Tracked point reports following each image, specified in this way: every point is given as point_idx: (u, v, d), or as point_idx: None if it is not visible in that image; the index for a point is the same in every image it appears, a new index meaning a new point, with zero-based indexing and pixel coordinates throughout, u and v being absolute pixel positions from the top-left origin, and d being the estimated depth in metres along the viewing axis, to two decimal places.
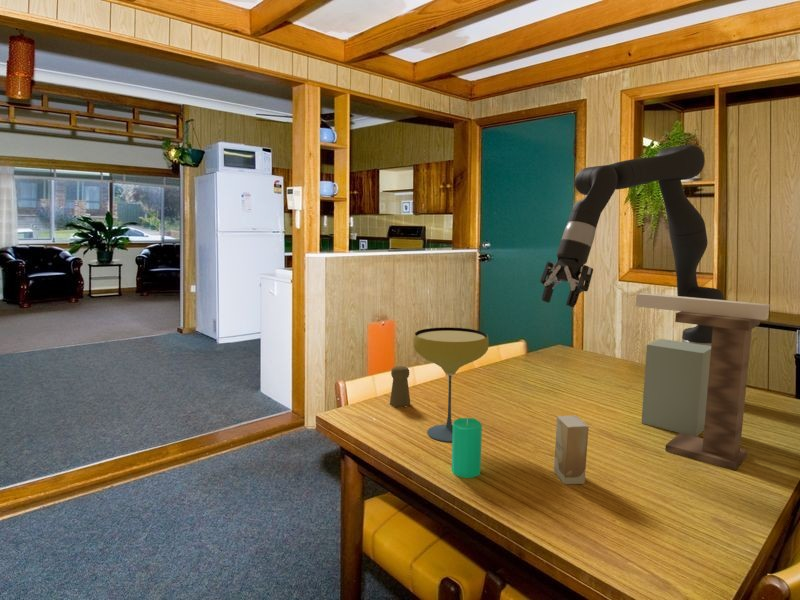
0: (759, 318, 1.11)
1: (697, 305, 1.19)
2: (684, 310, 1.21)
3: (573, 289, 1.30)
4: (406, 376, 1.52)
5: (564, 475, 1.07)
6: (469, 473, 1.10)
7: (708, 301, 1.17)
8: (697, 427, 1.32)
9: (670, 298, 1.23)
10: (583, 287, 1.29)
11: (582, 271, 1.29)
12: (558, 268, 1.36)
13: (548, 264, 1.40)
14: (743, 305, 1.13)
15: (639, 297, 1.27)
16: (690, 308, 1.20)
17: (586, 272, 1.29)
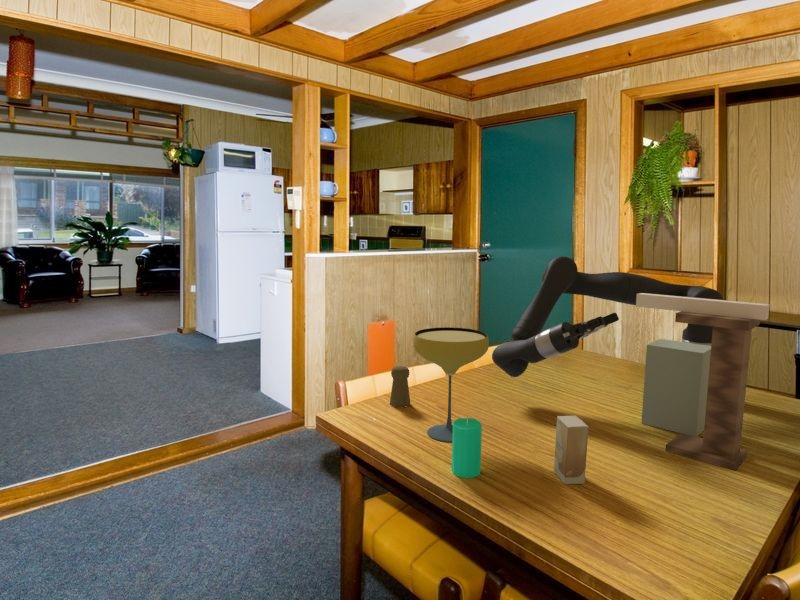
0: (759, 318, 1.11)
1: (697, 305, 1.19)
2: (684, 310, 1.21)
3: (589, 330, 1.33)
4: (406, 376, 1.52)
5: (564, 475, 1.07)
6: (469, 473, 1.10)
7: (708, 301, 1.17)
8: (697, 427, 1.32)
9: (670, 298, 1.23)
10: (580, 330, 1.32)
11: (571, 338, 1.36)
12: (586, 336, 1.40)
13: None
14: (743, 305, 1.13)
15: (639, 297, 1.27)
16: (690, 308, 1.20)
17: (569, 337, 1.35)
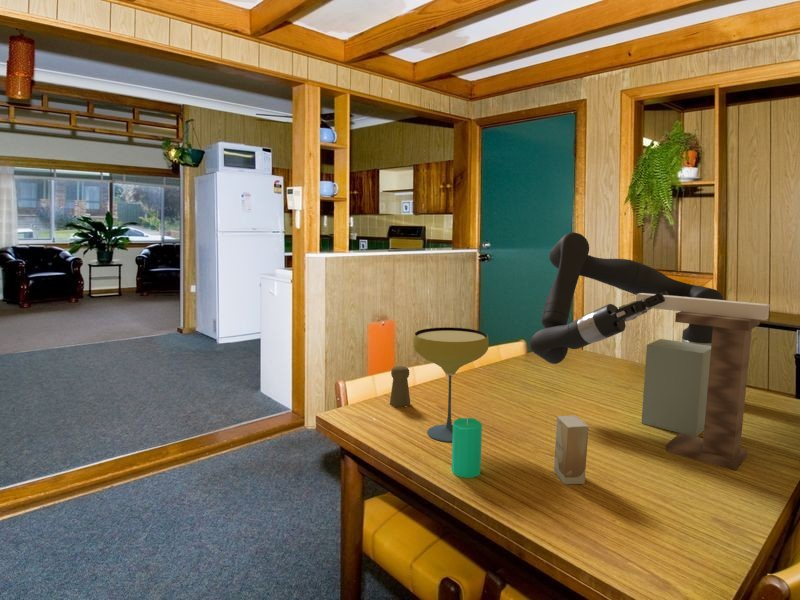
0: (759, 318, 1.11)
1: (697, 305, 1.19)
2: (684, 310, 1.21)
3: (648, 308, 1.25)
4: (406, 376, 1.52)
5: (564, 475, 1.07)
6: (469, 473, 1.10)
7: (708, 301, 1.17)
8: (697, 427, 1.32)
9: (670, 298, 1.23)
10: (639, 308, 1.25)
11: (625, 317, 1.26)
12: None
13: None
14: (743, 305, 1.13)
15: (639, 297, 1.27)
16: (690, 308, 1.20)
17: (625, 315, 1.26)
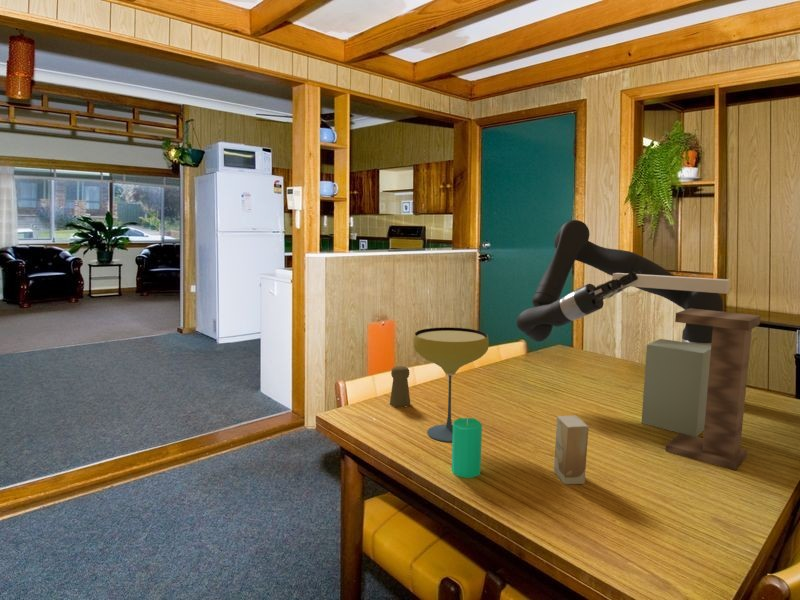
0: (720, 292, 1.23)
1: (666, 282, 1.31)
2: (655, 287, 1.33)
3: (623, 286, 1.37)
4: (406, 376, 1.52)
5: (564, 475, 1.07)
6: (469, 473, 1.10)
7: (676, 278, 1.29)
8: (697, 427, 1.32)
9: (642, 276, 1.35)
10: (614, 286, 1.37)
11: (602, 295, 1.38)
12: None
13: None
14: (706, 280, 1.25)
15: (615, 276, 1.39)
16: (660, 285, 1.32)
17: (602, 293, 1.38)
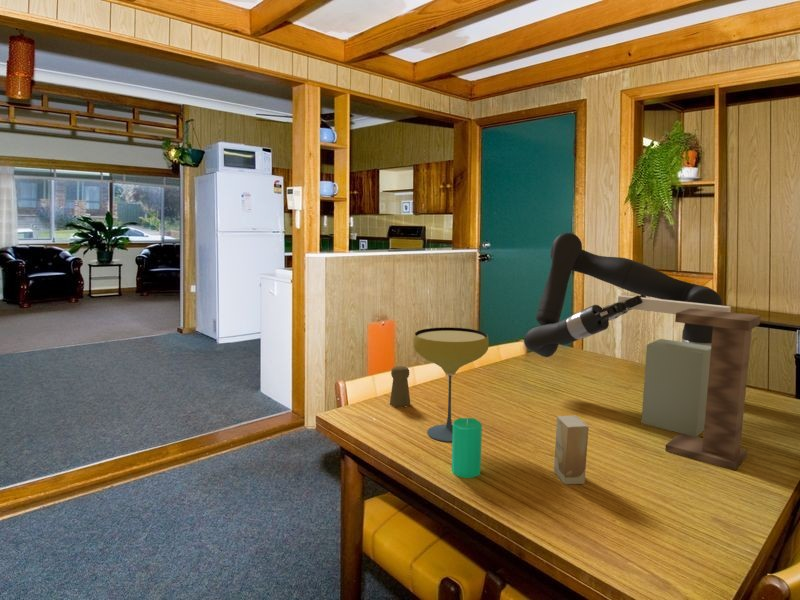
0: None
1: (670, 306, 1.36)
2: (658, 311, 1.38)
3: (628, 309, 1.43)
4: (406, 376, 1.52)
5: (564, 475, 1.07)
6: (469, 473, 1.10)
7: (679, 303, 1.34)
8: (697, 427, 1.32)
9: (647, 300, 1.40)
10: (619, 309, 1.42)
11: (608, 317, 1.44)
12: (615, 318, 1.49)
13: None
14: (708, 307, 1.30)
15: (620, 299, 1.45)
16: (664, 309, 1.37)
17: (607, 315, 1.43)
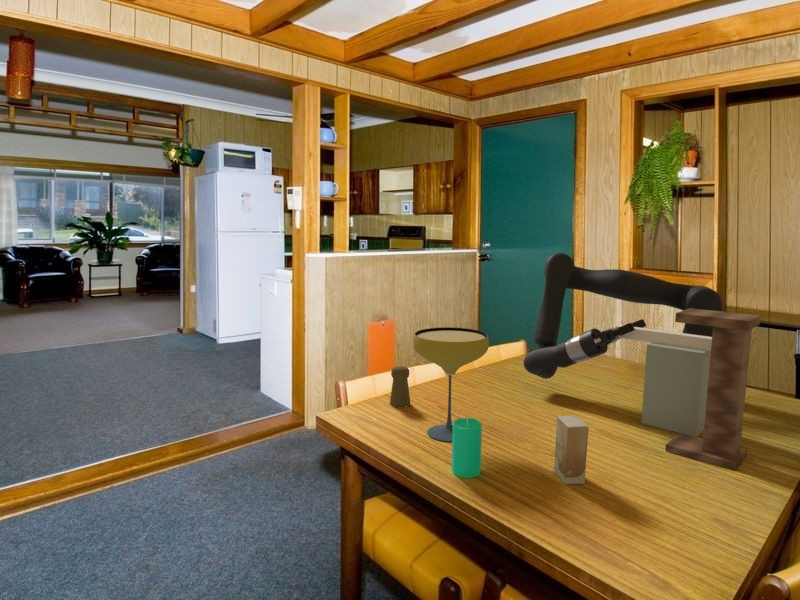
0: None
1: (667, 338, 1.37)
2: (656, 342, 1.39)
3: None
4: (406, 376, 1.52)
5: (564, 475, 1.07)
6: (469, 473, 1.10)
7: (676, 335, 1.36)
8: (697, 427, 1.32)
9: (644, 331, 1.41)
10: (612, 336, 1.42)
11: (602, 343, 1.45)
12: None
13: None
14: (705, 339, 1.31)
15: None
16: (661, 340, 1.38)
17: (600, 342, 1.44)
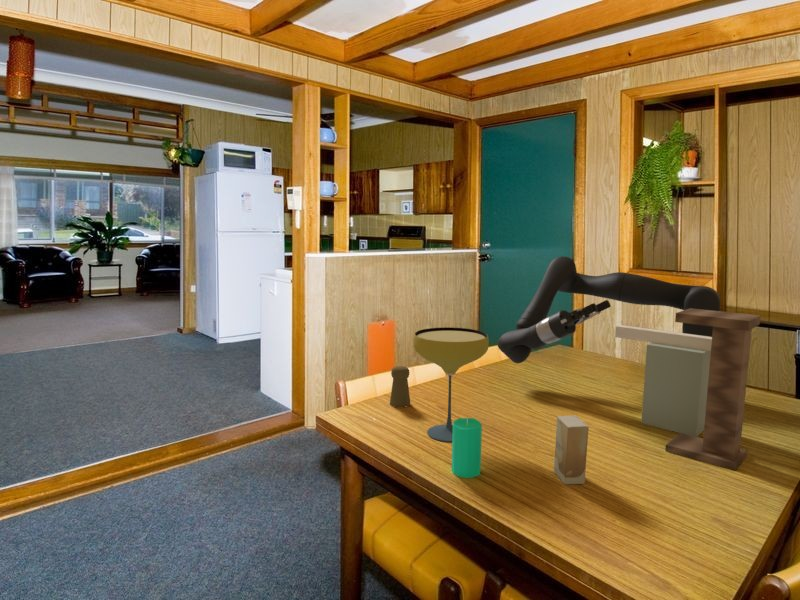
0: None
1: (667, 338, 1.37)
2: (656, 342, 1.39)
3: (584, 316, 1.49)
4: (406, 376, 1.52)
5: (564, 475, 1.07)
6: (469, 473, 1.10)
7: (676, 335, 1.36)
8: (697, 427, 1.32)
9: (644, 331, 1.41)
10: (576, 316, 1.48)
11: (568, 323, 1.51)
12: (582, 322, 1.56)
13: None
14: (705, 339, 1.31)
15: (618, 329, 1.46)
16: (661, 340, 1.38)
17: (566, 322, 1.50)
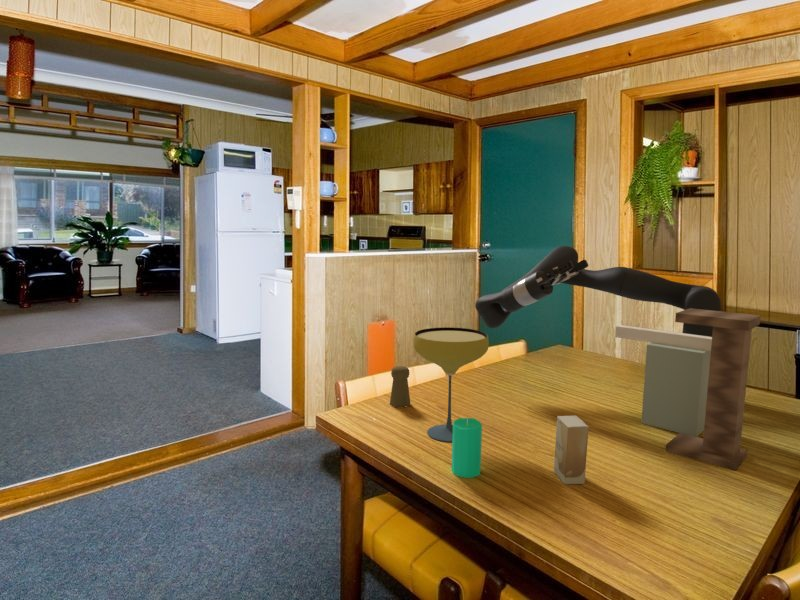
0: None
1: (667, 338, 1.37)
2: (656, 342, 1.39)
3: (560, 275, 1.44)
4: (406, 376, 1.52)
5: (564, 475, 1.07)
6: (469, 473, 1.10)
7: (676, 335, 1.36)
8: (697, 427, 1.32)
9: (644, 331, 1.41)
10: (551, 274, 1.43)
11: (544, 282, 1.47)
12: None
13: (562, 281, 1.56)
14: (705, 339, 1.31)
15: (618, 329, 1.46)
16: (661, 340, 1.38)
17: (541, 281, 1.46)
